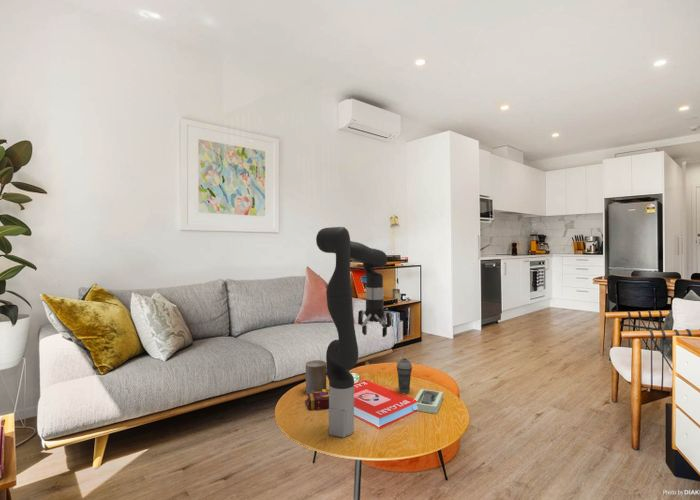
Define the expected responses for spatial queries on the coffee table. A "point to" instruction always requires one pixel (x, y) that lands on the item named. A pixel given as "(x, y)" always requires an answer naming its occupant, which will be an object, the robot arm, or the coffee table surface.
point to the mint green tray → (426, 407)
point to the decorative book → (318, 399)
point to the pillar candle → (315, 375)
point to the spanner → (428, 397)
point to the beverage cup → (404, 374)
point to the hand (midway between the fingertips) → (374, 335)
